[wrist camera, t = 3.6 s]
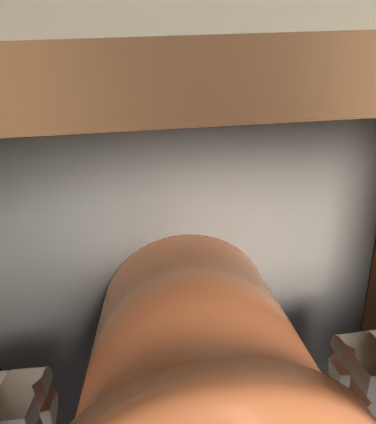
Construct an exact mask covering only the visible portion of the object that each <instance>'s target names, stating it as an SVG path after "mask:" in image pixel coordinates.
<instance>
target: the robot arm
mask: <svg viewBox="0 0 376 424" xmlns="http://www.w3.org/2000/svg"><path fill="white" fill-rule="evenodd" d="M330 346H331V348H332V349H333V351H334V352H333V354H332V355H331V356H330V357H329V360H328V370H329V375H330V377H332V378H334V379H336V380H337V381H339V382H340V383H342V384H343V385H345V386H346V387H348V388H349V389H351V390H352V391H353V392H354V393H355V394H356V395H357V396H358V397H359V398H360V399H361V400H362V401H363V402H364V403H365V405H366V406H367V407H368V409H369V410H370V411H371V413H372V414H373V415H374V417H375V418H376V330H369V331H362V332H354V333H346V334H337V335H333V337H332V338H331V343H330ZM52 380H53V374H52V370H51V368H50V367H36V368H24V369H12V370H6V371H0V424H55V422H56V419H57V412H58V395H57V390H56V389H55V388H54V387H52V386H51V382H52Z"/></svg>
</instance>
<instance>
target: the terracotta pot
mask: <svg viewBox="0 0 376 424" xmlns="http://www.w3.org/2000/svg"><path fill="white" fill-rule="evenodd" d="M69 424H376V418H375V417H374V415H373V414H372V413H371V411H370V410H369V409H368V407H367V406H366V405H365V403H364V402H363V401H362V400H361V399H360V398H359V397H358V396H357V395H356V394H355V393H354V392H353V391H352V390H351V389H349V388H348V387H346V386H345V385H343V384H342V383H340V382H339V381H337V380H336V379H334V378H332V377H330V376H328V375H326V374H324V373H321V371H320V369H319V368H318V366H317V365H316V363H315V361H314V360H313V358H312V356H311V355H310V353H309V352H308V350H307V348H306V347H305V345H304V343H303V342H302V340H301V339H300V337H299V335H298V334H297V332H296V331H295V329H294V327H293V326H292V324H291V322H290V321H289V319H288V318H287V316H286V314H285V313H284V311H283V309H282V308H281V306H280V305H279V303H278V301H277V300H276V298H275V296H274V295H273V293H272V292H271V290H270V288H269V287H268V285H267V284H266V282H265V280H264V279H263V277H262V275H261V274H260V272H259V271H258V269H257V267H256V266H255V265H254V263H253V262H252V261H251V260H250V259H249V258H248V257H247V256H246V255H245V254H244V253H243V252H242V251H240V250H239V249H238V248H236V247H235V246H233V245H231V244H229V243H227V242H225V241H222V240H219V239H217V238H213V237H208V236H202V235H179V236H172V237H168V238H164V239H161V240H158V241H155V242H153V243H150V244H148V245H147V246H145V247H143V248H141V249H139V250H138V251H137V252H135V253H134V254H133V255H131V256H130V257H129V258H128V259H127V260H126V261H125V262H124V263H123V264H122V265H121V266H120V267H119V269H118V270H117V271H116V273H115V274H114V276H113V278H112V279H111V281H110V284H109V286H108V288H107V292H106V296H105V300H104V304H103V308H102V312H101V316H100V320H99V324H98V328H97V332H96V336H95V340H94V344H93V348H92V352H91V356H90V360H89V364H88V368H87V372H86V376H85V380H84V384H83V388H82V392H81V396H80V400H79V404H78V408H77V412H76V416H75V419H74V420H73V421H72V422H71V423H69Z"/></svg>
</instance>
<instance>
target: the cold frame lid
mask: <svg viewBox="0 0 376 424" xmlns="http://www.w3.org/2000/svg"><path fill="white" fill-rule="evenodd" d="M372 29H376V0H0V41H17V40H49V39H81V38H114V37H146V36H178V35H211V34H243V33H275V32H307V31H340V30H372Z"/></svg>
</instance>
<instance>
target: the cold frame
mask: <svg viewBox="0 0 376 424" xmlns="http://www.w3.org/2000/svg"><path fill="white" fill-rule="evenodd" d="M367 118H376V29H372V30H340V31H307V32H275V33H243V34H211V35H178V36H146V37H114V38H81V39H49V40H17V41H0V138H16V137H35V136H53V135H72V134H90V133H109V132H127V131H145V130H164V129H182V128H201V127H219V126H238V125H256V124H274V123H293V122H311V121H330V120H348V119H367ZM369 330H376V242H375V248H374V254H373V261H372V267H371V273H370V279H369V285H368V292H367V298H366V304H365V310H364V316H363V323H362V329H361V332H362V331H369ZM0 371H1V369H0Z"/></svg>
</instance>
